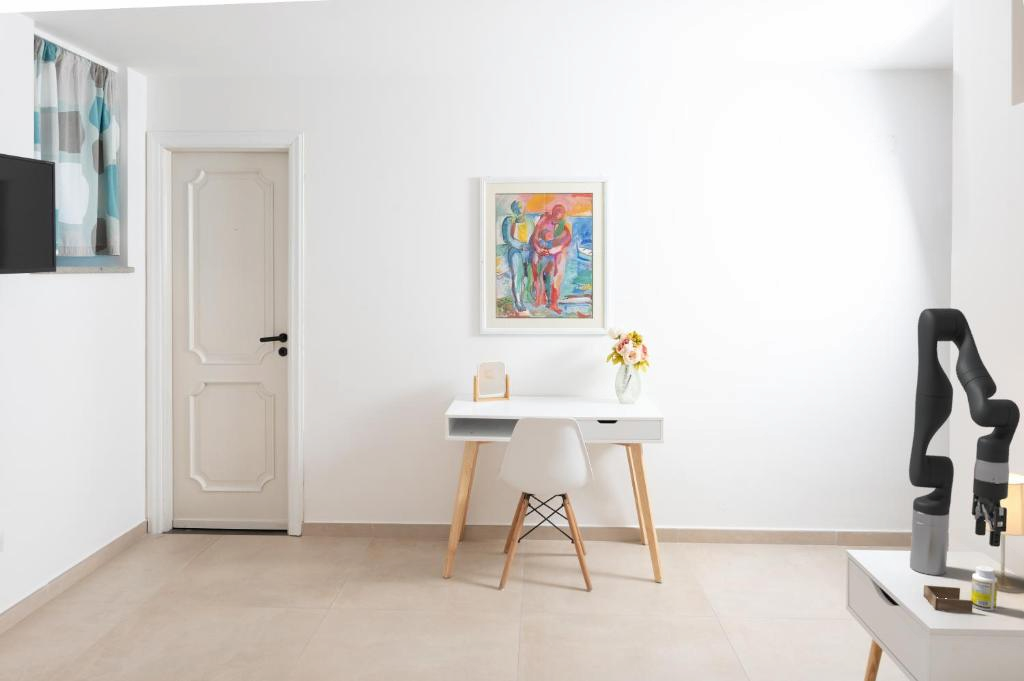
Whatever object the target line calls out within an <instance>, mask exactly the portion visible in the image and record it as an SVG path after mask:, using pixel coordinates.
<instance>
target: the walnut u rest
mask: <svg viewBox="0 0 1024 681" xmlns="http://www.w3.org/2000/svg"><path fill="white" fill-rule="evenodd" d="M960 594H961V588H960V587H956V586H955V587H953V586H938V585H926V584H925V585H924V586H923V597H924V599H925V598H926V599H927V600H928V601H927V600H926V599H925V600H926V601H927V602H928V603H929V605H930V606H931V605H932V606H933V607H932V606H931V607H932V608H933V609H934V610H935V611H942V610H944V612H956V613H970V614H971V613H973V608H974V607H973V601H972V600H971V599H960V598H961V595H960ZM937 597H938V598H937ZM945 598H947V599H945Z"/></svg>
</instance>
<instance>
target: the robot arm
mask: <svg viewBox="0 0 1024 681" xmlns="http://www.w3.org/2000/svg"><path fill="white" fill-rule="evenodd" d="M917 320H918V322H917V358H918V360H917V362H918V363H917V381H916V390H915V400H914V401H915V404H914V405H915V406H914V407H915V408H914V425H913V426H914V427H913V437H912V444H911V449H910V450H911V451H910V459H909V465H908V467H909V468H908V478H909V482H910V483H911V485H912V486H914V487H915V488H916V487H917V488H927V489H928V488H929V489H934V490H933V491H931V492H930V493H928V494H925V495H921V496H918V497H916V498H915V499H914V500H913V502H912V520H911V521H912V522H911V538H910V552H909V553H910V556H909V557H910V558H909V568H910V569H911V570H913V571H915V572H917V573H920V574H921V573H922V574H926V575H932V576H935V575H936V576H938V575H939V576H940V575H944V574H945V573H946V571H947V561H948V560H947V559H948V557H947V556H948V541H949V528H950V527H949V526H950V523H949V522H950V508H951V504H952V492H953V485H954V484H953V483H954V477H955V476H954V474H955V471H954V470H955V468H954V462H953V460H952V459H951V458H950V457H949V456H945V455H944V456H943V455H930V454H927V450H928V449H929V446H930V443H931V441H932V439H933V438H934V436H935V435H936V434H937V432H938V431H939V430H940V429H941V428H942V426H943V425H944V424H945V423H946V422H947V421H948V419H949V417H950V416H951V415H952V411H953V403H954V402H953V398H954V388H953V385H952V382H951V380H950V378H949V376H948V375H947V374H946V372H945V370H944V369H943V367H942V365H941V363H940V359H939V354H938V342H952V343H953V344H954V345H955V347H957V349H958V356H957V360H956V364H955V373H956V377H957V380H958V382H959V383H960V385H961V387H962V389H963V391H964V392H965V394H966V397H967V401H968V402H967V403H968V408H969V415H970V418H971V420H972V421H973V422H974V423H975V424H976V425H977V426H979V427H982V428H994V429H993V430H992V432H990V433H989V434H986V435H985V434H984V435H982V436H979V437H978V438H977V441H976V455H975V457H976V458H975V462H974V467H973V468H974V469H973V482H972V488H973V489H972V493H973V496H972V506H971V515H972V516H974V520H975V527H974V533H975V535H977V536H985V535H986V530H987V528H986V527H987V524H988V526H989V539H988V540H989V542H988V544H989V546H991V547H996V548H997V547H1000V546H1001V535H1002V534H1001V533H1002V532H1004V533H1005V532H1007V519H1008V518H1007V515H1008V509H1007V507H1004V506H1001V501H1002V500H1006V499H1008V495H1009V494H1008V493H1009V480H1010V479H1009V478H1010V467H1009V466H1010V464H1009V460H1010V446H1011V444H1012V440H1013V438H1014V435H1015V433H1016V430H1017V428H1018V426H1019V422H1020V418H1021V414H1020V408H1019V406H1018V405H1017V403H1016V402H1015V401H1013V400H1012V399H1008V398H1005V399H1003V398H1001V399H1000V398H996V399H995V398H994V399H993V398H992V397H994V395H996V393H997V384H996V382H995V380H994V378H993V377H992V376H991V374H990V372H989V371H988V369H987V367H986V365H985V364H984V362H983V359H982V358H981V355H980V353H979V350H978V347H977V344H976V341H975V338H974V335H973V333H972V330H971V328H970V324H969V322H968V319H967V318H966V316H965V315H964V313H963V312H962V311H961V310H960V309H957V308H951V307H949V308H948V307H947V308H942V307H941V308H940V307H938V308H937V307H936V308H925V309H924V310H922V311H921V313H920V314H919V317H918V319H917ZM990 398H991V399H990Z"/></svg>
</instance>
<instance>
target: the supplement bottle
mask: <svg viewBox="0 0 1024 681" xmlns="http://www.w3.org/2000/svg"><path fill="white" fill-rule="evenodd" d="M970 591H971V592H970V593H971V594H970V595H971V596H970V600H972V601H973V607H972V608H976V609H977V610H980V611H981V610H982V611H984V612H985V611H986V612H987V611H988V612H990V611H991V612H992V611H995V610H996V609H997V596H998V578H997V577H996V576H995V569H994V568H993V567H990V566H986V565H977V566H976V570H975V572H974V573H972V577H971V590H970Z"/></svg>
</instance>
